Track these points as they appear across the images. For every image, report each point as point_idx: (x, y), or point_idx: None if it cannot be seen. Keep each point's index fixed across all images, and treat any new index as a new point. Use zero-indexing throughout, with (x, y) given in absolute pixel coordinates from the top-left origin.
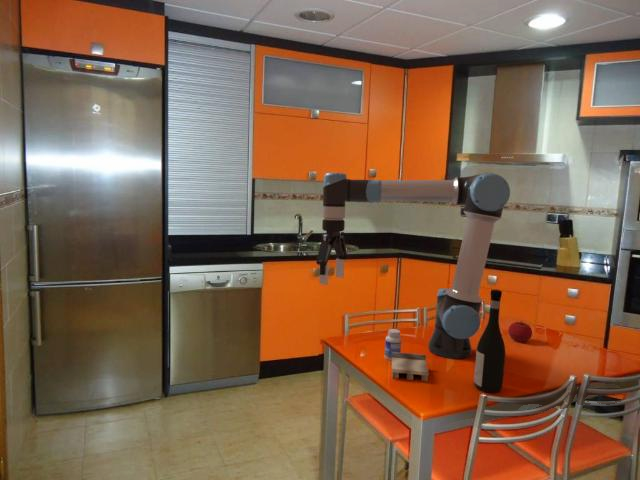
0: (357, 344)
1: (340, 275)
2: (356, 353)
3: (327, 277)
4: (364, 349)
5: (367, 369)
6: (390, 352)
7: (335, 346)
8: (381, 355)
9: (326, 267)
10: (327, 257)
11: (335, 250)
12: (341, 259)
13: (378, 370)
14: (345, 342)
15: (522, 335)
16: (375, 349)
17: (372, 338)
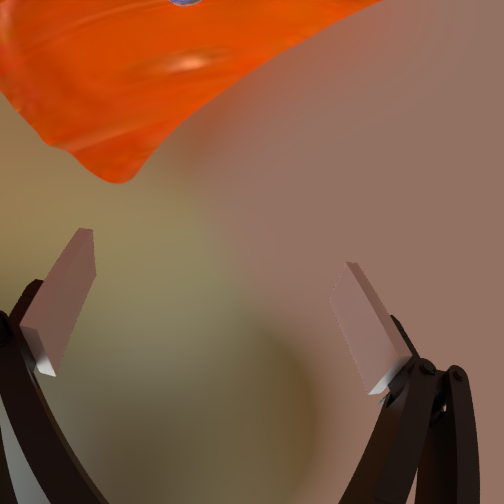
0: (114, 97)
1: (88, 254)
2: (187, 79)
3: (366, 291)
4: (146, 67)
5: (295, 36)
6: None
7: (156, 147)
8: (177, 15)
9: (403, 346)
10: (430, 409)
11: (80, 463)
12: (33, 344)
13: (292, 12)
14: (113, 132)
15: None
16: (134, 40)
17: (53, 78)
